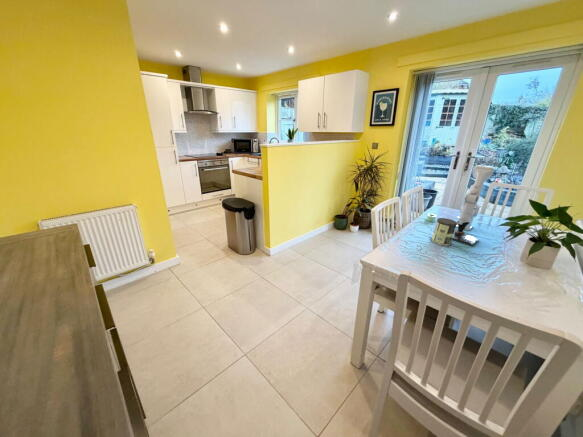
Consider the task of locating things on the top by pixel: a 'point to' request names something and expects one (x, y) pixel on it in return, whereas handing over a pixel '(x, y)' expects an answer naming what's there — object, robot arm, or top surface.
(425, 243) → the top surface
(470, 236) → the scale pan
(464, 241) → the scale
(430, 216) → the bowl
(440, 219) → the coffee can
